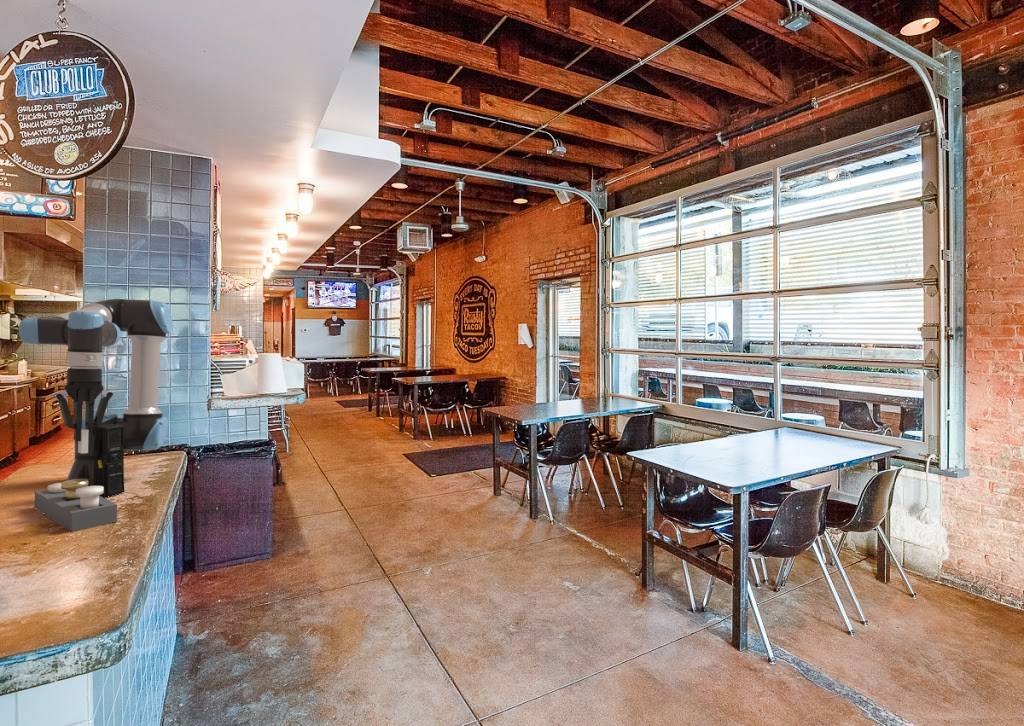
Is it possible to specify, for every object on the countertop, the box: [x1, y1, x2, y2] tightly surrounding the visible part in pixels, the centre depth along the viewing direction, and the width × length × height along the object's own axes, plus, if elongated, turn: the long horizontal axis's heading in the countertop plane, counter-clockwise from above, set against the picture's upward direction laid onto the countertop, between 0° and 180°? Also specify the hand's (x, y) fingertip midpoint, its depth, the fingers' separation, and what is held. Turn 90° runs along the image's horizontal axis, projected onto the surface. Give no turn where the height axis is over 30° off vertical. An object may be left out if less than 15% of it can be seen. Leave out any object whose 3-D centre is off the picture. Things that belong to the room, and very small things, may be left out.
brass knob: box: [60, 479, 88, 501], centre depth 150 cm, size 6×6×6 cm
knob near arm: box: [47, 482, 66, 501], centre depth 157 cm, size 6×6×6 cm
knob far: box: [76, 485, 104, 510], centre depth 144 cm, size 6×6×6 cm
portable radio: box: [92, 417, 125, 498], centre depth 169 cm, size 8×6×25 cm
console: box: [34, 488, 118, 532], centre depth 151 cm, size 10×30×5 cm, turn 56°
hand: (82, 452), depth 146 cm, fingers closed
